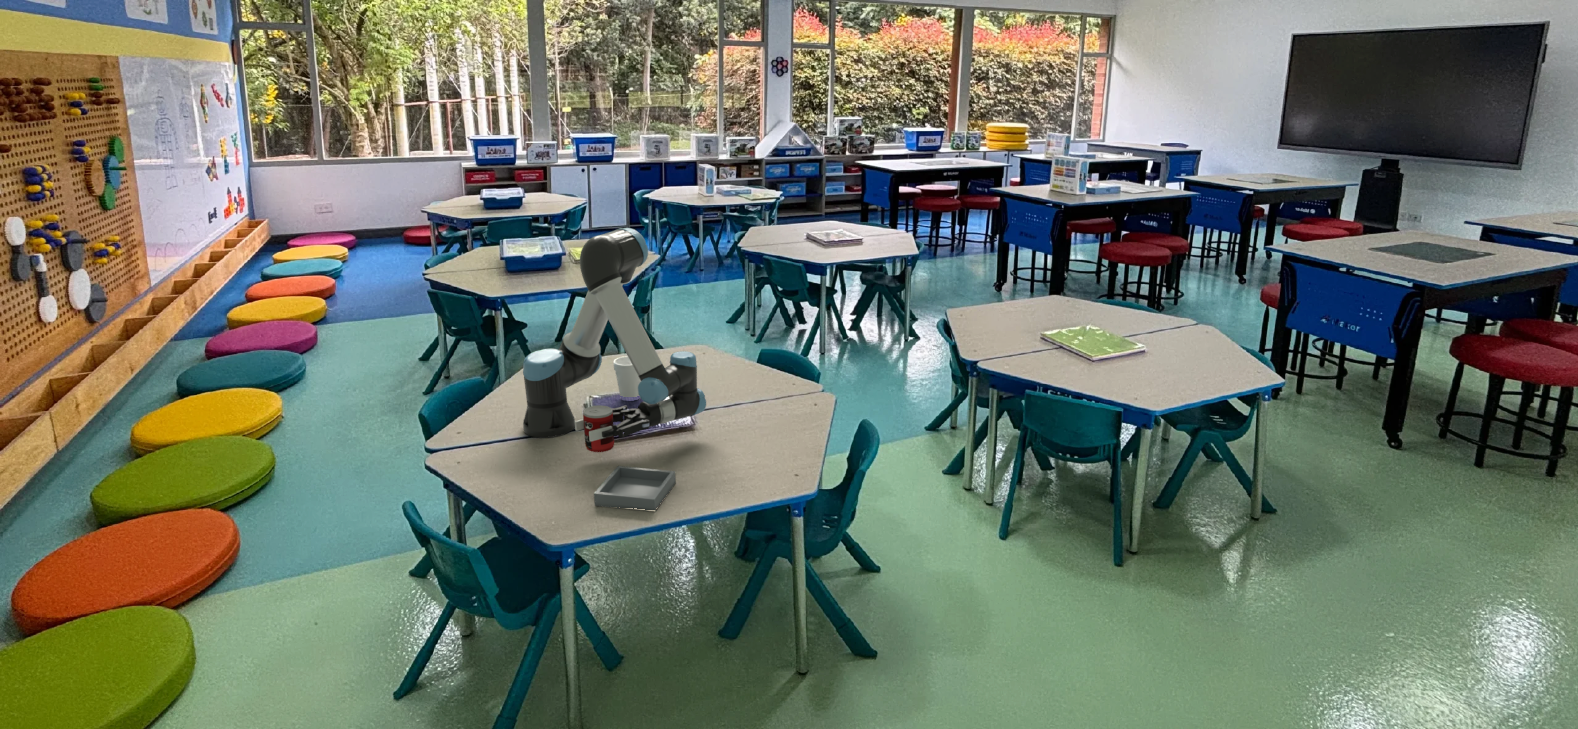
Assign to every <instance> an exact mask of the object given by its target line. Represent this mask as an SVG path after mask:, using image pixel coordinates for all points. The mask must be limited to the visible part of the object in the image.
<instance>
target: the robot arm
mask: <svg viewBox="0 0 1578 729" xmlns="http://www.w3.org/2000/svg"><path fill="white" fill-rule="evenodd" d="M581 248H582V249H581V250H580V253H579V268H580V271H581V272H580V273H581V276H582V279H583V281H584V284H585V286H586V288H587V290H588V291H587V293H586V296H585V298H584V300H583V302H582V303H583V304H582V305H581V308H580V310H579V313H578V316H577V317H576V321H575V323H574V325H573V328H572V330H571V331H570V332H567V333H566V334H565V335H564V336H563V338H562V340H561V343H560V346H559V348H558V349H557V348H550V347H549V348H542V349H541V350H540V349H538V350H535V351H533V352H530V353H529V354H528V355H526V357H524V359H523V364H522V365H523V366H522V369H523V370H522V374H523V380H524V387H525V388H524V390H525V397H526V410H525V414H524V417H523V418H524V419H523V422H522V426H523V433H524V434H526V435H527V436H530V437H532V438H533V437H534V438H543V439H544V438H554V437H558V436H559V437H560V436H563V435H566V434H568V433H570V432H572V431H573V430H574V429H575V431H576V432H577V431H583V430H584V421H583V418H581V419H579V420H578V419H577V420H576V419H575V417H574V413H573V412H572V409H571V407H570V405H569V403H568V396H567V388H569V387H572V386H573V385H575V384H578V383H579V382H582V381H584V380H587V379H589V378H590V377H592V376H593V375H594V374H596V373H597V372H598V371H599V370H600V367H601V365H602V362H603V356H602V355H601V353H602V352H601V350H602V348H601V345H600V343H599V342H600V340H601V338H602V335H603V333H604V331H605V329H606V326H607V323H608V321H609V323H610V325H611V327H612V329H613V332H614V333H615V334H616V337H617V339H618V341H619V342H620V344H621V346H622V347H623V348H622V349H624V352H625V354H626V356H628V357H629V359H630V361H631V363H632V365H633V367H634V369H635V371H636V372H637V374H638V376H639V378H640V380H641V382H640V383H639V385H638V394H639V396H640V399H641V400H642V401H641V402H640V403H639V405H638V406H637V407H636V408H628V405H626V404H625V405H622V406H620V407H615V408H611V409H612V411H613V429H612V426H608V427H604V428H600V429H597V430H593V431H589V441H595V440H599V439H602V438H606V437H610V436H614V437H618V438H619V439H622V438H625V437H628V436H631V435H633V434H635V433H638V432H641V431H646V430H650V428H652V427H655V426H656V427H657V426H658V425H662V424H667V423H670V422H672V421H673V422H674V421H677V420H681V419H684V418H687V417H694V416H695V415H698V414H700V413H701V414H702V413H703V412H704V411H705V410H706V407H707V399H706V395H705V393H704V391H703V390H702V389H701V388H698V365H697V356H696V355H695V354H694V353H693V352H690V351H688V350H687V351H686V350H685V351H684V350H683V351H681V350H680V351H676V352H673V353H672V354H671V355H670V357H669V359H670V360H669V365H668V366H666V367H665V365H664V364H663V362H662V360H661V358H660V356H659V354H658V352H657V351H656V348H655V346H654V345H653V343H652V341H651V340H650V338H649V335H648V333H647V332H646V330H645V328H644V326H643V324H642V322H641V320H640V318H639V316H638V314H637V312H636V310H635V309H634V306H633V305H632V303H631V301H630V298H629V297H628V295H627V293H626V291H625V290H624V287H623V285H627V284H628V283H630V282H631V280H632V278H633V276H634V274H635V271H636V268H639V267H641V266H643V265H644V264H645V262H646V261H647V259H648V256H649V248H648V245H647V242H646V239H645V238H644V236H643V235H642V234H641V233H640V232H638V231H637V230H636V229H634V228H631V227H624V228H617V229H615V230H612V231H610V232H606V233H602V234H598V235H595V236H593V237H591V238H589V239H587V241H585V243H584V245H583V246H582V247H581ZM614 423H618V424H614Z"/></svg>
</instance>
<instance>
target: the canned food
mask: <svg viewBox="0 0 1578 729" xmlns="http://www.w3.org/2000/svg"><path fill="white" fill-rule="evenodd" d="M612 409H613V408H612V407H610V406H607V405H592V406H588V407H586V408H584V409H583V413H582V417H583V418H582V419H583V421H584V429H583V431H584V444H585V449H586V450H587V451H589V452H591V453H606V452H608V451H611V450H612V449H613V448H614V446H615V436H610V437H606V438H602V439H599V440H595V441H589V431H593V430H597V429H600V428H604V427H608V426H612V429H613V424H614V422H613V411H612Z"/></svg>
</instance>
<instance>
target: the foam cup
mask: <svg viewBox="0 0 1578 729" xmlns="http://www.w3.org/2000/svg"><path fill="white" fill-rule="evenodd" d="M613 370H614V371H615V376H616V382H617V387H618V392H619V397H620V396H623V397H637V396H639V394H638V385H639V383H640V382H641V380H640V378H639V376H638V374H637V372H636V371H635V369H634V367H633V365H632V363H631V361H630V359H629V357H628V356H627V355H625V356H618V357H617V358H614V359H613Z"/></svg>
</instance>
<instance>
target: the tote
mask: <svg viewBox="0 0 1578 729" xmlns="http://www.w3.org/2000/svg"><path fill="white" fill-rule="evenodd" d="M676 480H677V479H676V471H675V470H668V469H667V470H665V469H656V468H655V469H654V468H645V467H636V466H635V467H634V466H624V465H618V466H616V467H615V468H614V470H613V471H612V472H610V474H609V475H608V476H607V478H605V480H604V481H603V482H602V483H601V484H600V486H598V488H596V490H595V491H594V493H593V499H594V507H602V506H603V507H604V508H611V507H617V508H616V509H621V508H633V509H634V508H637V509H645V510H656V508H657V507H658V506H659V505H660V503H661V502H662V500H663V499H664V498H665V497H666V498H667V496H668V495H669V493H670V492H671V491H672V490H673V488H674V486H675V485H676V484H677V481H676ZM672 487H673V488H672ZM670 490H671V491H670ZM669 491H670V492H669ZM667 494H668V495H667ZM666 495H667V496H666ZM666 498H665V499H666ZM665 499H664V500H665ZM664 500H663V501H664ZM662 503H663V502H662ZM662 503H661V504H662ZM660 506H661V505H660ZM660 506H659V507H660ZM603 507H602V508H603ZM619 507H620V508H619ZM659 507H658V508H659ZM656 511H657V510H656Z"/></svg>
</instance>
